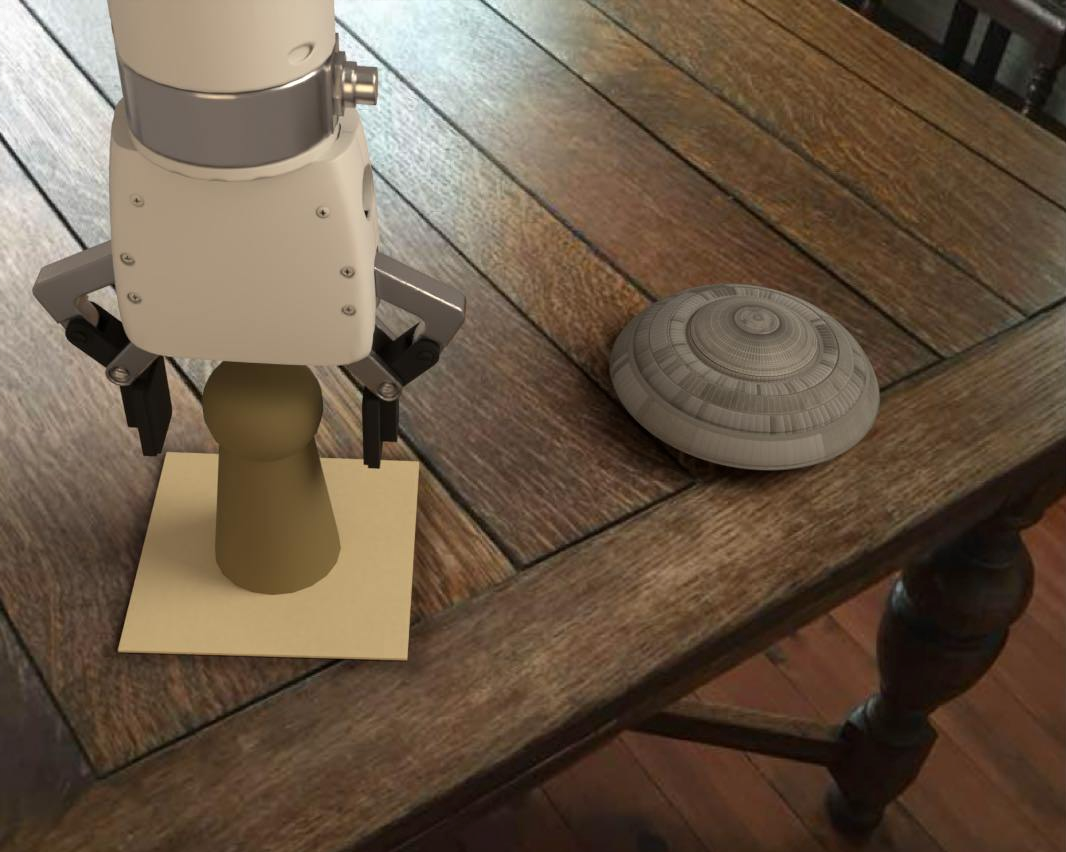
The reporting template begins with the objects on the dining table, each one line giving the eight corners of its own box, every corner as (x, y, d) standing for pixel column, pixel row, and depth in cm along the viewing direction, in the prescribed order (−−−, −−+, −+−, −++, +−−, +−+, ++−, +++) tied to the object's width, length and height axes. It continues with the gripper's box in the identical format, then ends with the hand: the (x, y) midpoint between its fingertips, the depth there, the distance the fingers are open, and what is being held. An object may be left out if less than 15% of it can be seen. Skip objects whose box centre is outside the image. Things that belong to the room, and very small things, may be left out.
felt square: (166, 454, 70) (166, 451, 70) (419, 463, 71) (419, 461, 71) (118, 652, 61) (117, 650, 61) (407, 660, 62) (407, 658, 62)
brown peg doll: (366, 538, 67) (360, 365, 59) (285, 614, 63) (266, 441, 55) (271, 486, 69) (253, 311, 61) (188, 556, 65) (157, 381, 57)
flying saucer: (602, 305, 81) (613, 227, 77) (850, 320, 82) (873, 243, 78) (611, 482, 71) (623, 402, 67) (894, 496, 72) (923, 419, 68)
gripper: (477, 54, 51) (463, 397, 64) (13, 22, 51) (91, 376, 63) (470, 162, 46) (456, 511, 59) (-47, 128, 45) (50, 490, 58)
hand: (267, 441), depth 61 cm, fingers open, 9 cm apart
